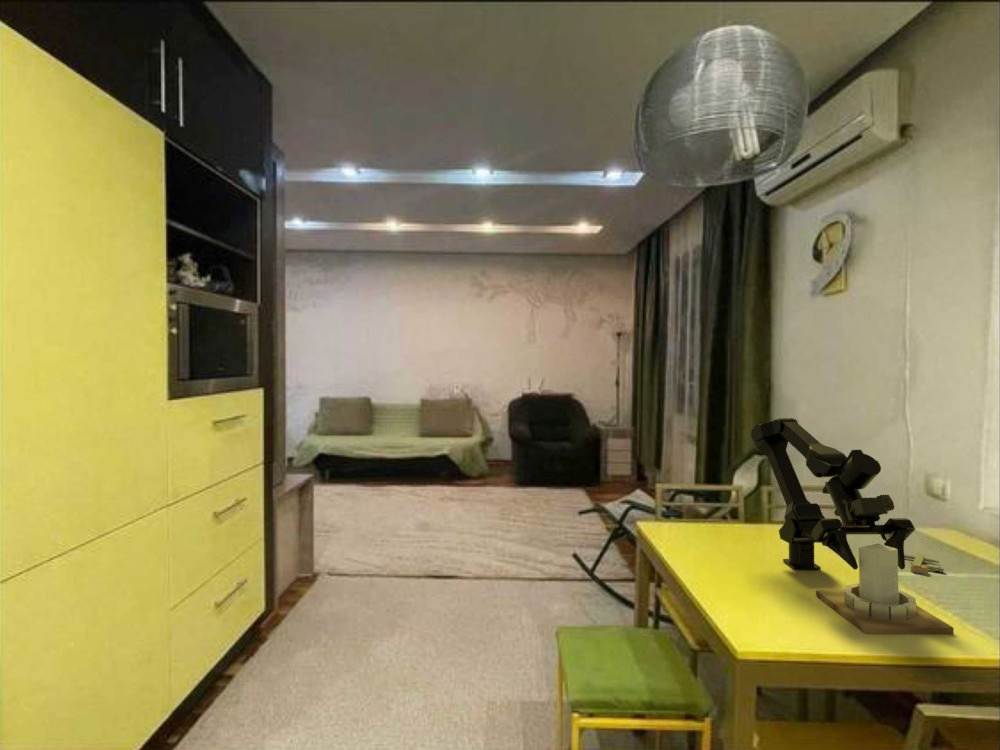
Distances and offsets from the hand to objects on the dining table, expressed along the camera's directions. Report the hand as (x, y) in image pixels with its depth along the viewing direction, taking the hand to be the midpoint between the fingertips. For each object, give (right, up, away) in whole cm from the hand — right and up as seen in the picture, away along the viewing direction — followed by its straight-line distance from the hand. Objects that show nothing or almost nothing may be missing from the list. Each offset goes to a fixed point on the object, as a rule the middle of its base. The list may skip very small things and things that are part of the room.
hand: (879, 568), depth 115 cm
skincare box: (0, -8, +1) cm, 8 cm away
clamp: (+28, -9, +28) cm, 41 cm away
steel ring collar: (0, -8, 0) cm, 8 cm away
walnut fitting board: (0, -9, 0) cm, 9 cm away
